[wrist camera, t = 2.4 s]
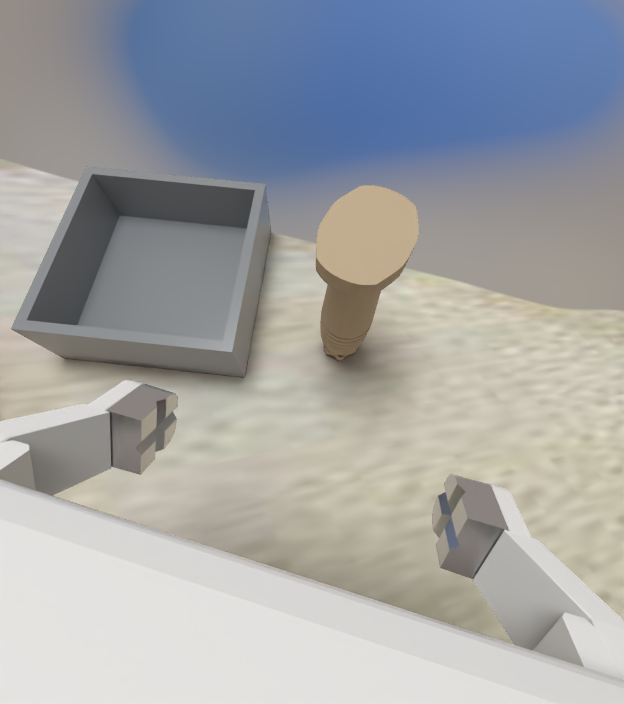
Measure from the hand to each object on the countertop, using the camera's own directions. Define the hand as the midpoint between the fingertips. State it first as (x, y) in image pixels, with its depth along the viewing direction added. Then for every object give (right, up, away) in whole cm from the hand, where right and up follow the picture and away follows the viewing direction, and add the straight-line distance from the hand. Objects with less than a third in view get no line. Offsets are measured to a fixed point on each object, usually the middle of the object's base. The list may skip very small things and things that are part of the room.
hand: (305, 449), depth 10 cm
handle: (+3, +3, +22) cm, 22 cm away
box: (-13, +9, +23) cm, 28 cm away
